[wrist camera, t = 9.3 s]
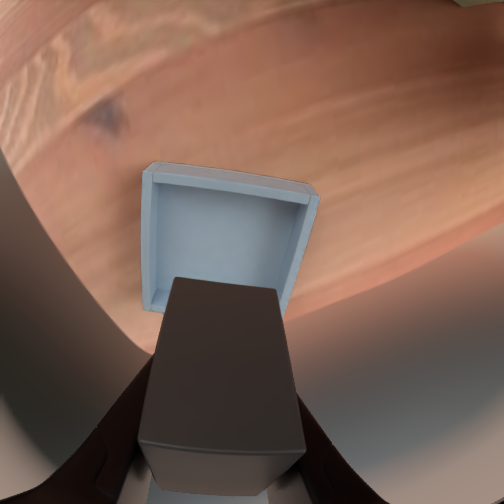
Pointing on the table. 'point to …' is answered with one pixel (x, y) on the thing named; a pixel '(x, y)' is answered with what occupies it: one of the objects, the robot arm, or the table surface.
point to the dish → (221, 229)
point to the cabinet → (475, 2)
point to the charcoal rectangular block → (220, 392)
